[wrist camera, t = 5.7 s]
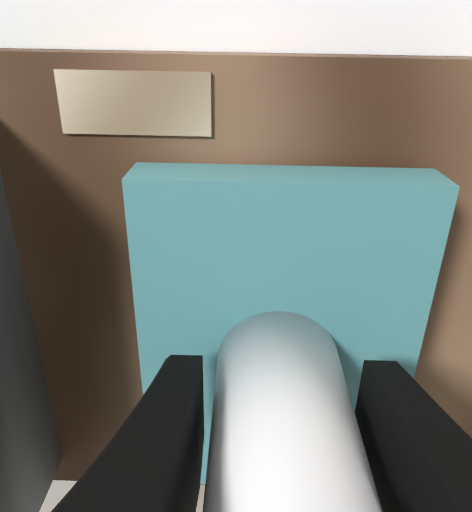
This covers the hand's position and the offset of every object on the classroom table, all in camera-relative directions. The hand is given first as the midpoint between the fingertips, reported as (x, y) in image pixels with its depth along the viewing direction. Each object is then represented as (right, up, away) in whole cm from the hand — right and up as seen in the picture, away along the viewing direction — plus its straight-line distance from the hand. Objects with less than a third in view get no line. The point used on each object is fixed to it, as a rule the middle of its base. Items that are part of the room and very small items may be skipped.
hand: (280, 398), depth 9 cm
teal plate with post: (0, +1, +2) cm, 2 cm away
